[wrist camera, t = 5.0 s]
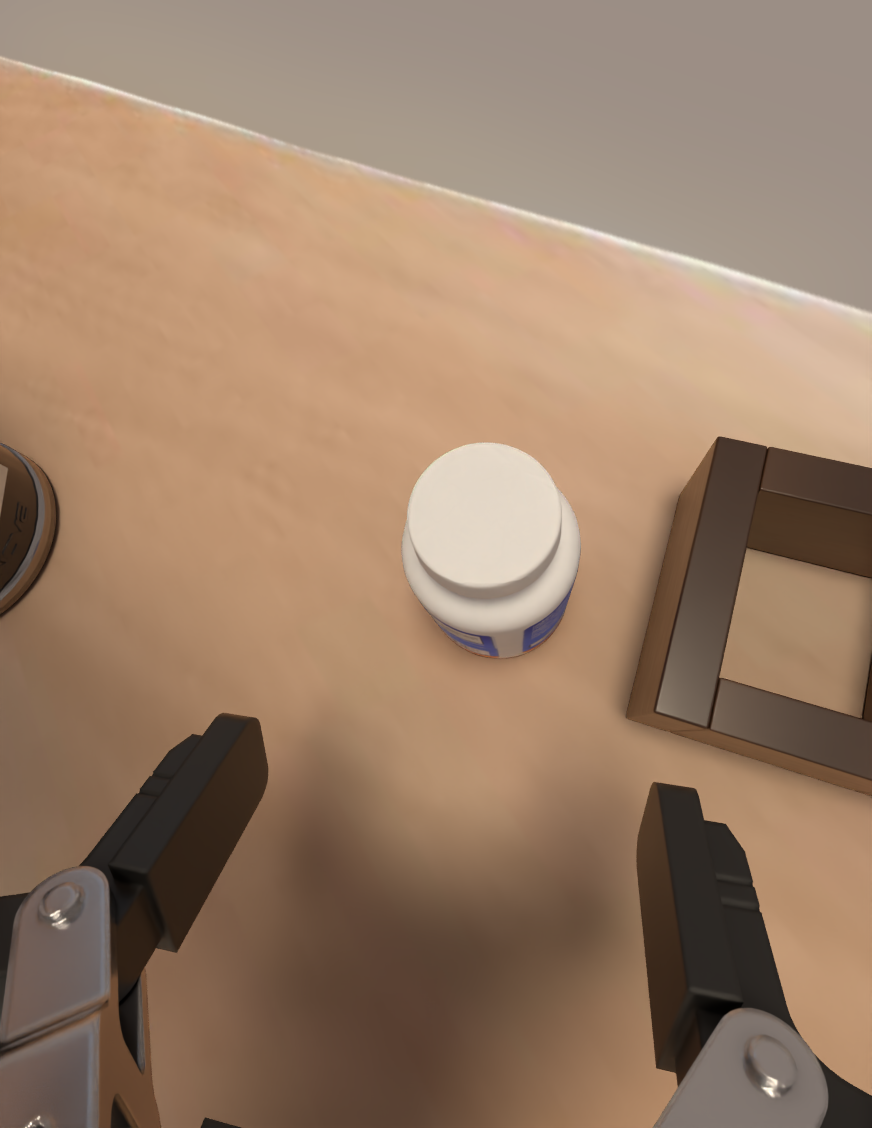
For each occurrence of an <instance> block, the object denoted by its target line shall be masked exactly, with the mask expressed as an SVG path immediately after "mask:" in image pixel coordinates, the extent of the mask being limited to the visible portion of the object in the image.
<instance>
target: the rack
mask: <svg viewBox="0 0 872 1128" xmlns="http://www.w3.org/2000/svg"><path fill="white" fill-rule="evenodd" d="M747 547H749V548H753V549H757V550H761V551H765V552H769V553H773V554H777V555H781V556H785V557H789V558H793V559H797V560H802V561H806V562H810V563H814V564H818V565H822V566H826V567H830V568H834V569H838V570H842V571H846V572H850V573H854V574H858V575H862V576H866V577H870V578H872V468H868V467H864V466H859V465H854V464H849V463H845V462H840V461H835V460H830V459H826V458H821V457H816V456H812V455H807V454H802V453H797V452H793V451H788V450H783V449H778V448H774V447H769V448H768V449H767V447H766V446H763V445H758V444H753V443H748V442H744V441H739V440H734V439H729V438H725V437H717V439H716V440H715V442H714V443H713V445H712V446H711V448H710V449H709V451H708V452H707V454H706V456H705V457H704V459H703V460H702V462H701V463H700V465H699V466H698V468H697V469H696V471H695V472H694V474H693V475H692V477H691V479H690V480H689V482H688V483H687V485H686V486H685V488H684V489H683V491H682V492H681V494H680V497H679V501H678V505H677V509H676V513H675V517H674V521H673V525H672V529H671V533H670V538H669V542H668V546H667V550H666V554H665V558H664V562H663V566H662V570H661V574H660V579H659V583H658V587H657V591H656V595H655V599H654V603H653V607H652V611H651V615H650V619H649V624H648V628H647V632H646V636H645V640H644V644H643V648H642V652H641V656H640V660H639V665H638V669H637V673H636V677H635V681H634V685H633V689H632V693H631V697H630V701H629V706H628V710H627V714H626V718H628V719H630V720H633V721H636V722H639V723H643V724H646V725H649V726H652V727H655V728H658V729H661V730H665V731H670V732H671V733H674V734H677V735H680V736H683V737H687V738H690V739H693V740H696V741H699V742H702V743H705V744H709V745H712V746H715V747H718V748H721V749H724V750H728V751H731V752H734V753H737V754H740V755H743V756H746V757H750V758H753V759H756V760H759V761H762V762H765V763H769V764H772V765H775V766H778V767H781V768H784V769H787V770H791V771H794V772H797V773H800V774H803V775H806V776H810V777H813V778H816V779H819V780H822V781H825V782H828V783H832V784H835V785H838V786H841V787H844V788H847V789H851V790H855V791H857V792H860V793H863V794H867V795H870V796H872V664H871V670H870V677H869V684H868V690H867V697H866V703H865V710H864V716H863V719H861V718H857V717H854V716H850V715H847V714H844V713H840V712H837V711H833V710H830V709H827V708H823V707H820V706H816V705H813V704H809V703H806V702H803V701H799V700H796V699H792V698H789V697H786V696H782V695H779V694H775V693H772V692H768V691H765V690H762V689H758V688H755V687H751V686H748V685H745V684H741V683H738V682H734V681H731V680H728V679H724V678H719V676H720V671H721V666H722V662H723V657H724V652H725V647H726V643H727V638H728V633H729V628H730V624H731V619H732V614H733V610H734V605H735V600H736V595H737V591H738V586H739V581H740V576H741V572H742V567H743V562H744V558H745V553H746V548H747Z"/></svg>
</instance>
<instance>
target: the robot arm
mask: <svg viewBox="0 0 872 1128" xmlns="http://www.w3.org/2000/svg"><path fill="white" fill-rule="evenodd" d="M55 523H56V506H55V499H54V495H53V491H52V488H51V486H50V483H49V481H48V479H47V477H46V476H45V474H44V473H43V471H42V470H41V469H40V468H39V467H38V466H37V465H36V464H35V463H34V462H33V461H32V460H30V459H29V458H27V457H26V456H24V455H22V454H21V453H19V452H17V451H15V450H14V449H12V448H10V447H8V446H6V445H4V444H2V443H0V614H1V613H3V612H4V611H5V610H6V609H8V608H9V607H10V606H11V605H12V604H13V603H14V602H16V601H17V600H18V599H19V598H20V597H21V595H22V594H23V593H24V592H25V591H26V590H27V589H28V587H29V586H30V585H31V583H32V582H33V581H34V579H35V578H36V576H37V575H38V573H39V571H40V569H41V568H42V566H43V564H44V562H45V560H46V557H47V555H48V553H49V550H50V547H51V544H52V540H53V536H54V531H55ZM267 780H268V764H267V758H266V753H265V747H264V742H263V737H262V731H261V726H260V722H259V720H258V719H257V718H253V717H247V716H241V715H234V714H228V713H221V714H219V715H218V716H217V717H216V718H215V719H214V721H213V722H212V723H211V725H210V726H209V727H208V729H207V730H206V731H205V733H204V734H203V736H201V735H195V734H192V735H191V736H189V737H188V738H187V739H185V740H184V741H182V742H181V743H180V744H178V745H177V746H176V747H174V748H173V749H171V750H170V751H169V752H168V753H167V755H166V756H165V757H164V759H163V760H162V761H161V762H160V764H159V765H158V766H157V768H156V769H155V770H154V771H153V775H152V776H150V777H149V778H148V779H147V780H146V782H145V783H144V784H143V786H142V787H141V788H140V792H139V793H138V794H137V793H136V795H135V796H134V797H133V798H132V800H131V801H130V802H129V804H128V805H127V806H126V808H125V809H124V810H123V811H122V813H121V814H120V815H119V817H118V818H117V819H116V820H115V822H114V823H113V824H112V826H111V827H110V828H109V829H108V831H107V832H106V833H105V835H104V836H103V837H102V838H101V840H100V841H99V842H98V844H97V845H96V846H95V847H94V849H93V850H92V851H91V853H90V854H89V855H88V856H87V858H86V859H85V860H84V861H83V862H82V863H81V864H80V865H79V866H78V867H72V868H69V869H65V870H63V871H60V872H58V873H56V874H54V875H52V876H50V877H48V878H47V879H46V880H44V881H43V882H41V883H40V884H39V885H38V886H36V887H35V888H34V889H33V890H32V891H31V892H30V893H24V894H17V895H9V896H2V897H0V1128H161V1123H160V1117H159V1111H158V1107H157V1103H156V1099H155V1094H154V1088H153V1080H152V1066H151V1049H150V1031H149V1013H148V996H147V978H146V970H145V966H146V964H147V962H148V961H149V959H150V957H151V956H152V954H153V952H154V950H155V949H156V948H158V949H163V950H167V951H171V952H175V953H177V951H178V950H179V948H180V946H181V944H182V942H183V940H184V939H185V937H186V935H187V933H188V931H189V930H190V928H191V926H192V924H193V922H194V920H195V919H196V917H197V915H198V913H199V911H200V910H201V908H202V906H203V904H204V902H205V900H206V899H207V897H208V895H209V893H210V891H211V890H212V888H213V886H214V884H215V882H216V880H217V879H218V877H219V875H220V873H221V871H222V870H223V868H224V866H225V864H226V862H227V860H228V859H229V857H230V855H231V853H232V851H233V850H234V848H235V846H236V844H237V842H238V840H239V839H240V837H241V835H242V833H243V831H244V830H245V828H246V826H247V824H248V822H249V821H250V819H251V817H252V815H253V813H254V811H255V810H256V808H257V806H258V804H259V802H260V801H261V799H262V797H263V794H264V792H265V789H266V785H267ZM637 874H638V885H639V895H640V905H641V916H642V926H643V936H644V947H645V957H646V967H647V977H648V988H649V998H650V1008H651V1019H652V1029H653V1039H654V1050H655V1060H656V1068H657V1069H662V1070H666V1071H670V1072H674V1073H676V1075H677V1084H678V1088H677V1090H676V1092H675V1093H674V1095H673V1096H672V1098H671V1100H670V1101H669V1103H668V1104H667V1106H666V1108H665V1109H664V1111H663V1112H662V1114H661V1116H660V1117H659V1119H658V1120H657V1122H656V1124H655V1125H654V1127H653V1128H872V1096H871V1095H869V1094H867V1093H866V1092H864V1091H862V1090H860V1089H859V1088H857V1087H855V1086H853V1085H852V1084H850V1083H848V1082H847V1081H845V1080H844V1079H842V1078H841V1077H839V1076H838V1075H837V1074H835V1073H834V1072H833V1071H831V1070H830V1069H829V1068H828V1067H827V1066H826V1065H825V1064H824V1063H823V1062H822V1061H821V1060H819V1058H818V1057H817V1056H816V1055H815V1054H814V1053H813V1052H812V1050H811V1049H810V1047H809V1046H808V1045H807V1043H806V1042H805V1041H804V1040H803V1039H802V1037H801V1036H800V1034H799V1032H798V1031H797V1029H796V1027H795V1025H794V1023H793V1021H792V1019H791V1017H790V1014H789V1011H788V1008H787V1005H786V1001H785V997H784V994H783V990H782V986H781V983H780V979H779V975H778V972H777V968H776V964H775V961H774V957H773V953H772V950H771V946H770V942H769V939H768V935H767V931H766V928H765V924H764V920H763V917H762V913H761V912H760V911H759V902H758V898H757V895H756V891H755V887H753V880H752V876H751V873H750V869H749V865H748V862H747V858H746V854H745V851H744V850H743V848H742V847H741V845H740V844H739V843H738V841H737V840H736V838H735V837H734V835H733V834H732V833H731V831H730V830H729V828H728V827H727V825H726V824H723V823H717V822H711V821H705V820H704V818H703V814H702V809H701V804H700V800H699V796H698V793H697V791H696V789H694V788H689V787H683V786H676V785H670V784H664V783H657V782H653V783H652V785H651V788H650V792H649V796H648V799H647V803H646V807H645V811H644V815H643V818H642V822H641V826H640V830H639V834H638V841H637ZM201 1128H241V1127H237V1126H234V1125H230V1124H227V1123H223V1122H220V1121H216V1120H212V1119H209V1118H205V1119H204V1121H203V1123H202V1126H201Z"/></svg>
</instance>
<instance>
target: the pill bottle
mask: <svg viewBox="0 0 872 1128" xmlns="http://www.w3.org/2000/svg"><path fill="white" fill-rule="evenodd" d="M580 552H581V541H580V531H579V527H578V523H577V519H576V516H575V514H574V511H573V509H572V507H571V506H570V504H569V502H568V501H567V499H566V498H565V496H564V495H563V494H562V492H561V491H560V490H559V489H558V488H557V487H556V485H555V483H554V481H553V479H552V478H551V476H550V475H549V473H548V472H547V471H546V470H545V468H544V467H543V466H542V465H541V464H540V463H539V462H538V461H537V460H536V459H534V458H533V457H531V456H530V455H528V454H527V453H525V452H523V451H521V450H519V449H517V448H514V447H511V446H508V445H505V444H498V443H489V442H486V443H473V444H468V445H464V446H461V447H458V448H456V449H453V450H451V451H449V452H447V453H445V454H444V455H442V456H441V457H439V458H438V459H436V460H435V461H434V462H433V463H432V464H431V465H429V466H428V468H427V469H426V470H425V471H424V472H423V473H422V475H421V476H420V477H419V479H418V480H417V482H416V484H415V486H414V488H413V491H412V494H411V497H410V500H409V504H408V510H407V521H406V524H405V528H404V532H403V538H402V562H403V567H404V571H405V575H406V577H407V580H408V582H409V584H410V587H411V589H412V590H413V592H414V594H415V595H416V597H417V598H418V600H419V601H420V603H421V604H422V605H423V606H424V608H425V609H426V610H427V612H428V613H429V614H430V615H431V617H432V618H433V619H434V620H435V621H436V623H437V624H438V625H439V627H440V628H441V629H442V630H443V632H444V633H445V634H446V635H447V636H448V637H449V638H450V639H451V640H452V641H453V642H455V643H456V644H457V645H459V646H460V647H462V648H464V649H465V650H467V651H469V652H472V653H474V654H477V655H480V656H484V657H490V658H509V657H515V656H519V655H522V654H525V653H527V652H530V651H532V650H533V649H535V648H537V647H538V646H540V645H541V644H542V643H543V642H545V641H546V640H547V639H548V638H549V637H550V636H551V634H552V633H553V632H554V631H555V629H556V628H557V626H558V625H559V623H560V621H561V619H562V617H563V614H564V612H565V608H566V606H567V602H568V599H569V596H570V593H571V590H572V587H573V584H574V581H575V578H576V574H577V571H578V566H579V560H580Z"/></svg>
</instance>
